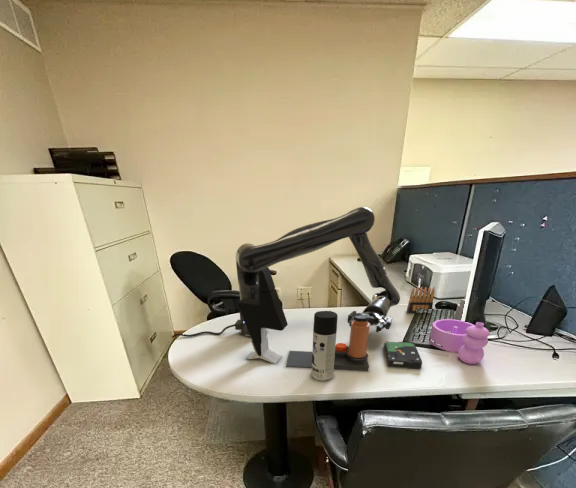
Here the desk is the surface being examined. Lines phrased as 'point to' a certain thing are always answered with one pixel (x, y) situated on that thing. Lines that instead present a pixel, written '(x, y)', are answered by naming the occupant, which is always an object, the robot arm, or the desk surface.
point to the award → (263, 316)
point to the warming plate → (356, 358)
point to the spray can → (324, 345)
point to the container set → (460, 338)
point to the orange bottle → (359, 335)
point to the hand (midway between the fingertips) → (364, 327)
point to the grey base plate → (349, 362)
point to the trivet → (299, 359)
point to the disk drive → (402, 355)
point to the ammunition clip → (420, 299)
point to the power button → (341, 347)
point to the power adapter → (459, 310)
